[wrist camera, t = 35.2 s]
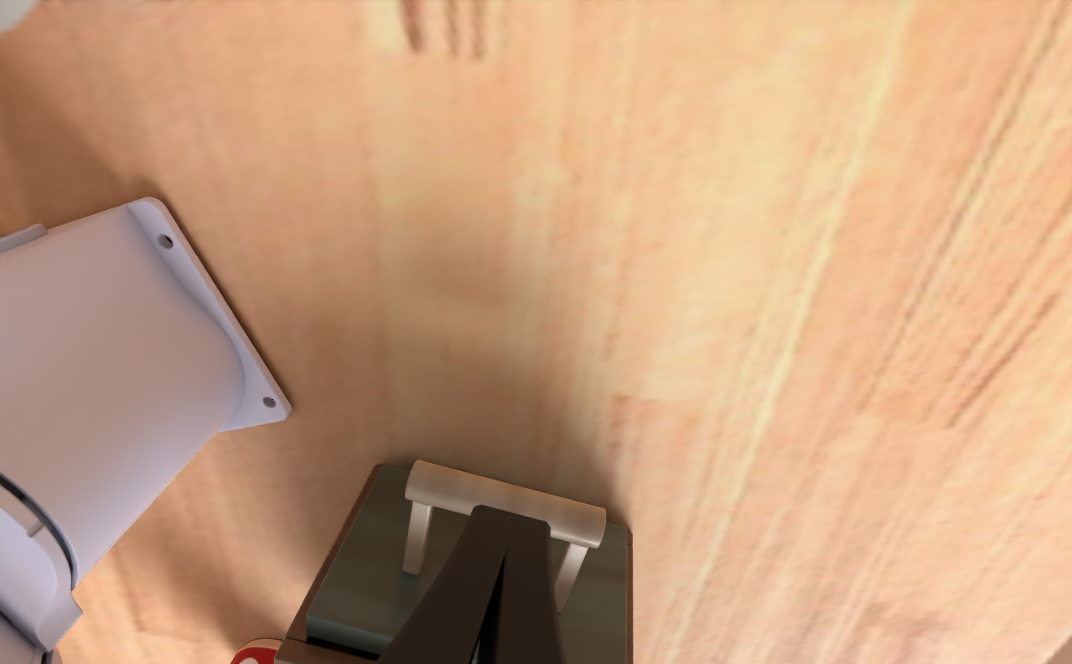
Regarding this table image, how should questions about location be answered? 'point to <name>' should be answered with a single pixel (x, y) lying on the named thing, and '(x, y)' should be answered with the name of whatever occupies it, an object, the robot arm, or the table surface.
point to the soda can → (257, 652)
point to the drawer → (428, 540)
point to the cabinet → (311, 660)
